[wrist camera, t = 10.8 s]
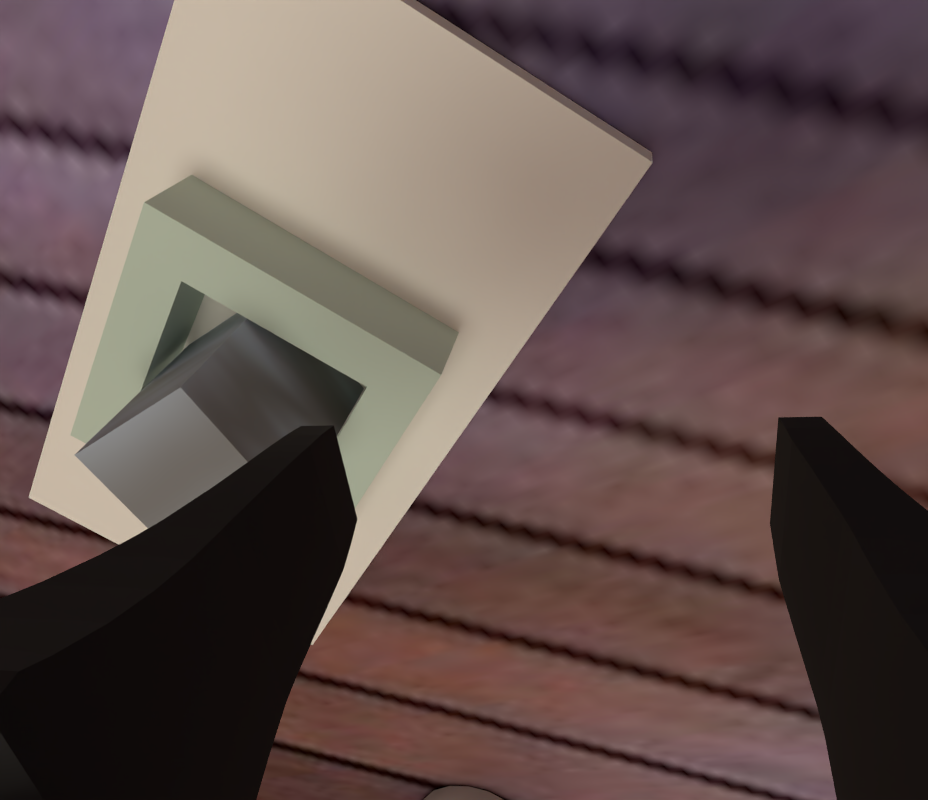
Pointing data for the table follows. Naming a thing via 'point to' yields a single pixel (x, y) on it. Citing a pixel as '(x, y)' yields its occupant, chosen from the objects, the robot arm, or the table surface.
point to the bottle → (461, 794)
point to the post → (213, 416)
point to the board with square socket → (337, 231)
